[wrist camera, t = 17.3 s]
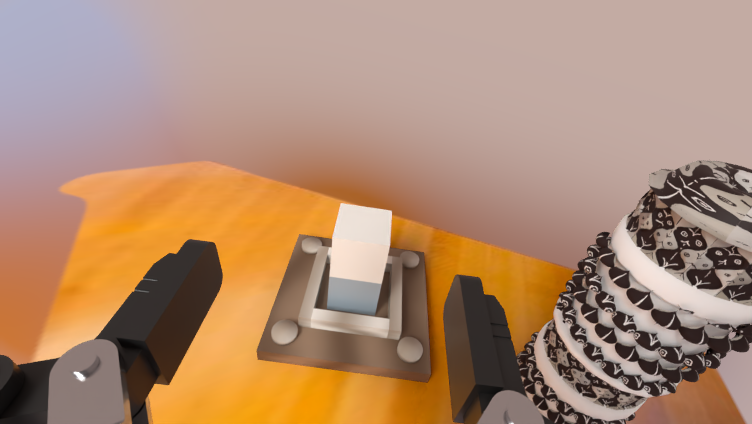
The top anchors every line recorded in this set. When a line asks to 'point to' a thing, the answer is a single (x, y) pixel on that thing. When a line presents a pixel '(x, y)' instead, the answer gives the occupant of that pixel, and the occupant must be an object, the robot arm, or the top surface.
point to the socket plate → (350, 318)
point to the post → (358, 258)
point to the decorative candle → (650, 300)
